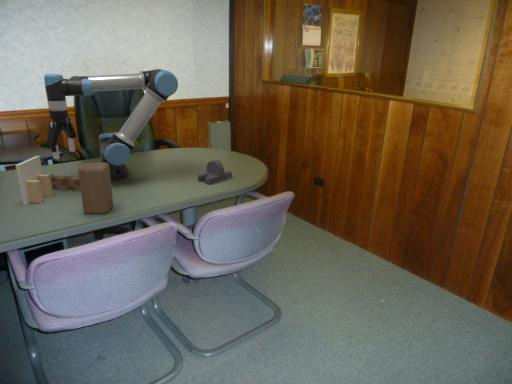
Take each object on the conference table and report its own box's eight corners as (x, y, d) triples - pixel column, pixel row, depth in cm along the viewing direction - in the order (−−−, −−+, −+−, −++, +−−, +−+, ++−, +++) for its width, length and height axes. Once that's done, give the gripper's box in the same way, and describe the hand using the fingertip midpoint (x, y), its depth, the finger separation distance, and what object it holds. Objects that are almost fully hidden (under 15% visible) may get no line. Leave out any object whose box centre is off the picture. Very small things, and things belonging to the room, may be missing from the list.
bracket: (232, 177, 212) (233, 159, 208) (209, 185, 199) (209, 165, 195) (220, 174, 218) (220, 155, 214) (196, 181, 205) (196, 162, 201)
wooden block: (90, 205, 168) (85, 161, 161) (113, 205, 169) (109, 162, 162) (83, 214, 159) (76, 168, 152) (107, 214, 160) (102, 169, 153)
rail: (88, 188, 187) (87, 176, 185) (84, 191, 183) (82, 179, 181) (53, 186, 188) (51, 174, 186) (48, 189, 184) (46, 176, 182)
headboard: (56, 193, 180) (50, 156, 173) (37, 205, 166) (30, 165, 159) (42, 192, 180) (36, 155, 174) (23, 204, 166) (15, 165, 159)
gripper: (65, 105, 184) (71, 148, 192) (32, 113, 161) (41, 161, 169) (80, 106, 184) (85, 148, 192) (49, 114, 161) (57, 162, 168)
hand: (64, 155), depth 180 cm, fingers open, 13 cm apart
